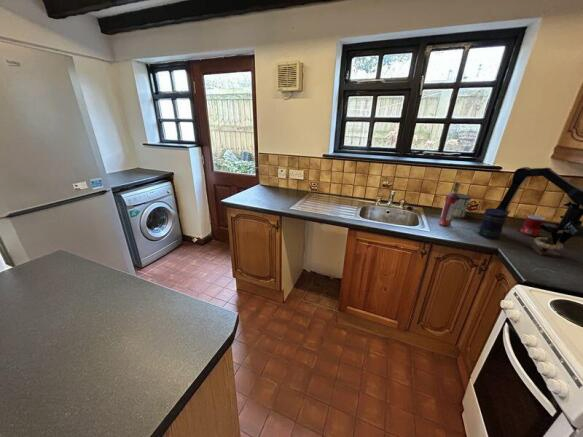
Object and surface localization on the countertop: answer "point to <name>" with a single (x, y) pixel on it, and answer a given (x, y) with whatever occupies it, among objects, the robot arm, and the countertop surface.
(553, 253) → the tape post
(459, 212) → the coffee can
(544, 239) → the tape
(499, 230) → the storage jar
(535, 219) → the canned food
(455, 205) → the liquor
